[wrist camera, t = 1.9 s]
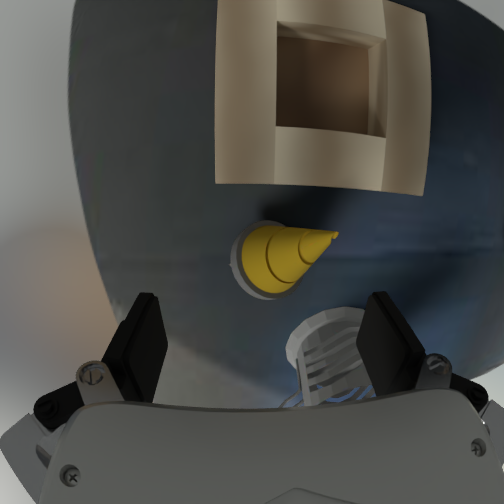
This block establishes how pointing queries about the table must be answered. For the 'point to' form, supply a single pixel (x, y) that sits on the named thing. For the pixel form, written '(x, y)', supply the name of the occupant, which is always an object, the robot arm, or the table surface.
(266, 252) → the yellow stepped cone
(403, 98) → the socket block
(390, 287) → the table surface
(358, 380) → the french press
